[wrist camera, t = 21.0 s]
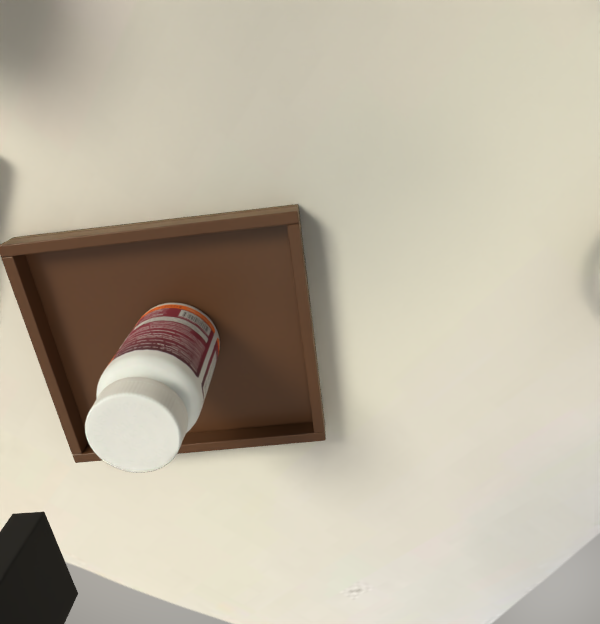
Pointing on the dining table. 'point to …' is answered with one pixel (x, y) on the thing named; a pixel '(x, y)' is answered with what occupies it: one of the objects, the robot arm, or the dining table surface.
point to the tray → (187, 290)
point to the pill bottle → (153, 388)
